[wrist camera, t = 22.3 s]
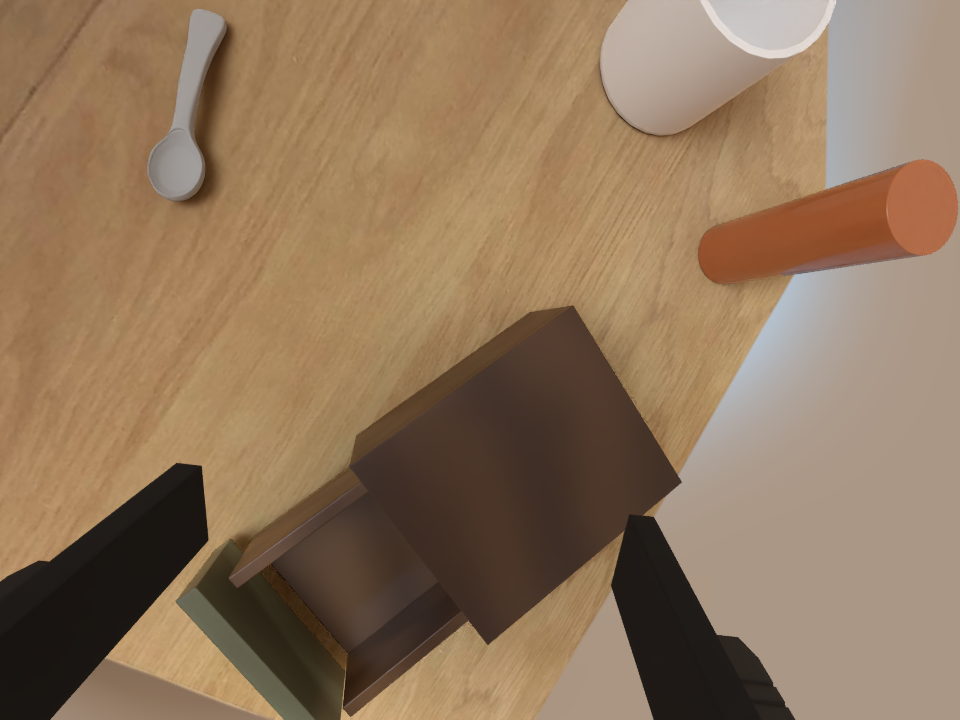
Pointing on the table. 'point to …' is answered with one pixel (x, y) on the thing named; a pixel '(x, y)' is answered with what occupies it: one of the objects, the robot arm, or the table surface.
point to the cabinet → (514, 467)
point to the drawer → (323, 604)
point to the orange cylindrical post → (837, 227)
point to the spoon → (187, 114)
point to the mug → (699, 54)
